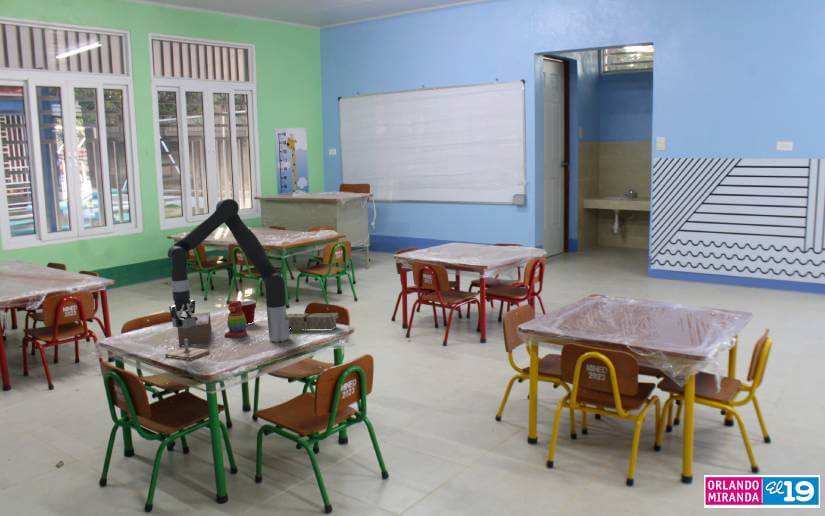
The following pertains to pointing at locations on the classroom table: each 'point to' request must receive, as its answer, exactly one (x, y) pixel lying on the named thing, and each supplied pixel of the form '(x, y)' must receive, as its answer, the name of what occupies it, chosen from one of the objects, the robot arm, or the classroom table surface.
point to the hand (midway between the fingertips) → (184, 324)
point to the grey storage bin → (185, 322)
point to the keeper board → (187, 352)
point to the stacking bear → (236, 320)
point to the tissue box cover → (196, 330)
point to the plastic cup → (248, 310)
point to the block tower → (312, 321)
